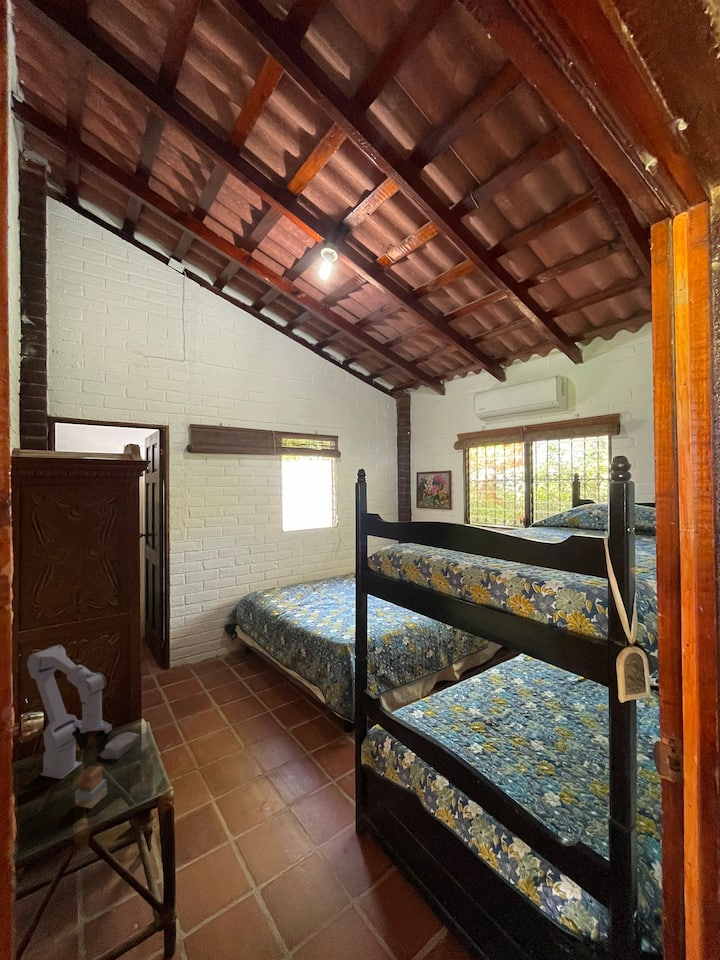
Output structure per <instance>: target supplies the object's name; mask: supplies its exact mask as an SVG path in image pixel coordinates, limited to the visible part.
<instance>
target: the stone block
mask: <svg viewBox="0 0 720 960" xmlns="http://www.w3.org/2000/svg"><path fill="white" fill-rule="evenodd" d="M140 738H141V737H140V734H139V733H135V732H131V731H127V732H126V731H125V732H122V733H120V734H118V735H116V736H115V737H114V738H112V739H111V740H110V741H109V742H108V743H106V746H105V750H104V751H103V752H101V753H100V754H99V757H100V758H101V759H104V760H109V759H110V760H119V759H121V758H122V757H123V756H124V755H125V754H127V753H128V752H129V751H130V750H131V749H132V748H133V747H135V746H136V745H137V744H138V743H139V742H140V740H141V739H140Z"/></svg>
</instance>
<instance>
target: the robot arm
mask: <svg viewBox="0 0 720 960" xmlns="http://www.w3.org/2000/svg"><path fill="white" fill-rule="evenodd" d="M27 658H28V659H27V662H26V666H27V668H28V673H29V676H30V679H32V680H33V679H34V680H35V681H36V685H37V688H38V691H39V694H40V697H41V700H42V704H43V706H44V709H45V712H46V715H47V718H48V721H49V723H48V725H47V726H46V728H45V729H44V731H43V744H44V747H45V751H44V753H43V757H42V758H43V762H42V763H43V766H42V769H43V772H41V773H40V775H41V776H43V777H49V778H54V779H59V780H61V779H64V778H65V777H66V776H68V775H69V774H71V772H73V771H75V769H78V767H80V766H82V764H83V763H82V762H81V761H76V745H78V748H79V751H80V752H83V750H85V749H86V748H88V743H89V732H92V731H93V732H95V731H97V733H96V734H95V735H93V738H94V740H95V742H96V749H97V754H99V755H100V753H101V752H103V751H104V750H105V746H106V745H107V742H108V739H109V736H110V735H111V733H112V731H113V727H112V724H111V723H108V722H106V721H104V720H103V706H102V705H103V698H102V697H103V696H102V695H103V690H102V689H104V688H105V687H106V685H107V682H106V681H107V680H106V677H105V676H104V674H103V673H101V672H92V671H91V670H89V669H88V668H87V667H85V666H84V665H83V664H77V665H76V664H75V663H74V662H73V661H72V660H71V659H70V658H69V657H68V656H67V652H66V649H65V648H64V647H63V645H61V644H56V645H55V646H51V647H49V648H46V649H43V650H41V651H37V652H33V653H31V654H30V655H29V656H28V657H27ZM56 670H59V671H61V672H62V673H64V674H66V680H67V681H68V682H70V683H71V684H72V685H73V686H75V687H76V688H77V691H78V695H79V699H80V700H79V701H80V702H81V710H82V712H81V713H82V714H81V716H82V717H81V718H82V720H81V719H79V720H78V719H77V716H76V715H74V714H70V713H69V714H68V712H67V710H66V707H65V705H64V702H63V698H62V696H61V693H60V689H59V687H58V684H57V681H56V679H55V676H54V673H55V672H56ZM76 742H77V744H76Z"/></svg>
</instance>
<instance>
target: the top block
mask: <svg viewBox="0 0 720 960" xmlns="http://www.w3.org/2000/svg"><path fill="white" fill-rule="evenodd" d="M107 785H108V784H107V779H106V778H105V779H104V778H103V780H102V781H101V782H100V783H99V784H98V785H97V786H96V787H95V788H94V789H93V790H92V791H88V790H79V788H78V789H77V790H75V791H74V794H75V795H74V800H75V801H76V800H82V801H93V800H94V799H95V798H96V797H97V796H98V795H99V794H100V793H101V792H102V791H103V790H104V789H105V788H106V787H107V788H108V786H107Z"/></svg>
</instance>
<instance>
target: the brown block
mask: <svg viewBox="0 0 720 960" xmlns="http://www.w3.org/2000/svg"><path fill="white" fill-rule="evenodd" d="M107 795H108V786H107V787H106V788H105V789H104V790H103V791H102V792H101V793H100V794H99V795H98V796H97V797H96V798H95V799H94V800H93V801H82V800H75V806H76V807H80V808H81V807H82V808H87V809H92V808H94V806H96V805H97V804H98V803H99V802H100V801H101V800H102V799H103V798H105V797H106V796H107Z"/></svg>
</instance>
